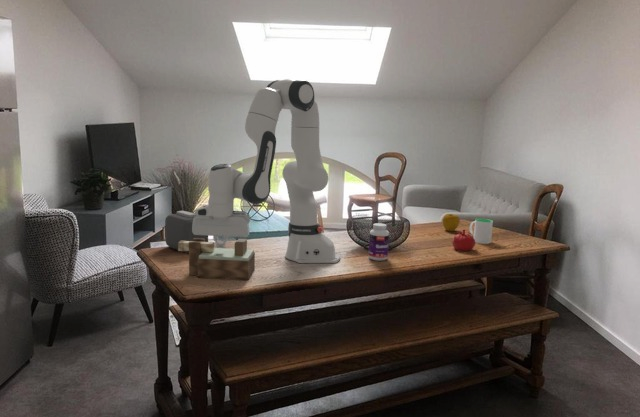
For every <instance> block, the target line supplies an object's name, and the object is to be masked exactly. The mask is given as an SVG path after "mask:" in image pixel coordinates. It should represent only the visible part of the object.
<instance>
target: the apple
mask: <svg viewBox="0 0 640 417" xmlns="http://www.w3.org/2000/svg"><path fill="white" fill-rule="evenodd" d="M459 224H460V217H459V216H458V215H456V214H453V213H446V214H444V215H443V217H442V225H443V228H444V230H445V231H447V232H454V231H455V230H457V228H458V227H459Z"/></svg>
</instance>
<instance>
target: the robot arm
mask: <svg viewBox="0 0 640 417" xmlns="http://www.w3.org/2000/svg"><path fill="white" fill-rule="evenodd" d="M282 110H289V111H290V113H291V121H290V122H291V123H290V126H291V127H290V128H291V129H290V132H291V133H290V137H291V138H290V140H291V141H290V144H291V145H290V147H291V150H292V151H293V154H294V157H295V160H293V161H290V162H287V163H286V164H285V165H284V167H283V169H282V178H283V179H284V182H285V184H286V189H287V194H288V199H289V222H288V225H287V226H288V228H287V230H288V231H287V233H288V242H287V248H286V252H285V255H284V257H285V258H286V259H288V260H290V261H293V262H295V263H298V264H330V263H331V264H336V263H338V262H339V261H341V260H340V259H341V255H340V253H339V252H337V251H336V249H335V248H336V247H335V244H334V242H333V241H332V239H330V238H329V237H328V236H326V235H325V234H324V233H323V226H322V224H321V223H318V203H317V201H316V198H315V196H314V192H321V191H322V190H324V189H325V188H326V187H327V185H328V183H329V173H328V171H327V170H326V169H325V166H324V163H323V159H322V154H321V148H320V115H319V114H320V113H319V107H318V103H317V101H316V100H315V90H314V87H313V85H312V83H310V81H308V80H305V79H303V78H302V79H301V78H298V79H296V78H286V79H277V80H273V81H271V82H270V83H269V84H268V85H267V86H266V87H262V88H260V89H258V90H257V92H256V94H255V96H254V98H253V100H252V102H251V104H250V107H249V109H248V112H247V115H246V119H245V124H244V130H245V133H246V134H247V136H248V138H249V139H250V140H251V141H252V142H254V145H255V146H256V149H257V150H256V151H257V152H256V159H255V164H254V168H253V172H252V173H251V174H250V173H246V172H243V171H240V170H239V169H236V168H235V167H233V165H232V164H229V163H221V164H220V163H219V164H216V165H213V166H212V167H211V168H210V170H209V174H208V183H207V184H208V187H207V190H208V193H209V197H208V203H207V204H206V205H202V206H200V207H198V208H196V209H195V210H194V213H195V215H197V216H195V217H194V219H193V224H192V232H193V234H194V235H206V236H208V237H209V236H210V237H211V236H212V238H213V242H214V243H215V246H216V247H215V248H226V243H227V242H228V240H229V237H230V238H247V237H249V235H250V222H251V216H250V214H249V213H248V212H247V211H246V210H242V211H241V210H235V208H234V205H235V204H234V202H235V201H234V200H235V199H239V200H242V201H245V202H247V203H250V204H252V205H260V204H262V203H264V202H265V201H266V200H268V198H269V195H270V194H271V176H272V170H273V166H274V165H273V164H274V160H275V159H274V158H275V154H276V148H277V138H276V128H277V124H278V121H279V118H280V117H279V116H280V113H281V111H282ZM219 237H223V242H222V241H221V242H220V241H219V239H218V238H219Z"/></svg>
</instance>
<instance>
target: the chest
mask: <svg viewBox="0 0 640 417" xmlns="http://www.w3.org/2000/svg"><path fill="white" fill-rule="evenodd" d="M193 241H195V242H189V253H188V275H189V276H197V278H198V279H209V280H210V279H215V280H231V281H232V280H233V281H249V280H250V279H251V277H252V275H253V274H254V272H255V267H256V266H255V262H256V259H255V258H256V255H255V253H256V252H255V251H254V253H253V254H252V256H251V257H250V259H249V260H248V261H238V260H217V259H199V255H200V254H201V253H202V252H201V242H205V239H201V238H194V239H193Z"/></svg>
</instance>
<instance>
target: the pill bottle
mask: <svg viewBox="0 0 640 417" xmlns="http://www.w3.org/2000/svg"><path fill="white" fill-rule="evenodd" d="M387 228H388V225H387V224H385V223H380V222H378V223H377V222H376V223H373V224H372V229H371V230H370V231H369V235H368V237H369V238H368V239H369V240H368V254H367V255H368V256H367V257H368V258H369V260H373V261H377V262H378V261H380V262H382V261H386V260H387V259H388V258H389V245H390V244H389V243H390V232H389V230H387Z"/></svg>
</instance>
